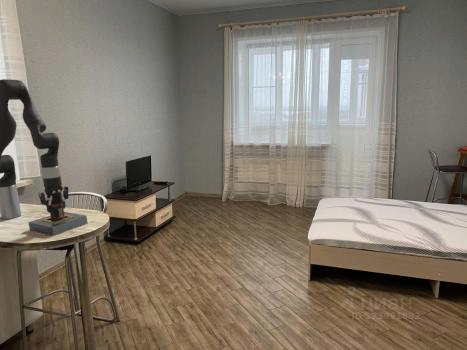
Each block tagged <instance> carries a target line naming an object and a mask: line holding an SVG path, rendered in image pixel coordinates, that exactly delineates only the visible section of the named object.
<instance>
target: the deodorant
mask: <svg viewBox="0 0 467 350" xmlns="http://www.w3.org/2000/svg"><path fill="white" fill-rule="evenodd" d="M61 193H62V192H56V193H53V194H50V196H51V195H52V201H51V206H52V213H49V214H50V215H51V221H55V222H56V221H59V220H62V219H65V215H64V212H65V210H64V208H63V201H62V194H63V193H62V194H61ZM50 196H48V198H50ZM50 215H49V216H50Z"/></svg>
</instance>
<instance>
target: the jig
mask: <svg viewBox="0 0 467 350" xmlns="http://www.w3.org/2000/svg"><path fill="white" fill-rule="evenodd" d="M64 215H65V219H62V220H59V221H56V222H55V221H51V215H49V216H43V217H41V218H38V219H35V220H32V221H31V220H30V221H29V222H27V223H28V228H29V231H31V232H36V233H38V234H44V235H48V236H53V237H55V236H57V235H60V234H63V233H65V231H66V232H68V231H70V230H73V228H74V229H76V228H79V227H82V226H84V225H88V217H87V215H86V214H85V215H84V214H80V213H73V212H69V211H64Z"/></svg>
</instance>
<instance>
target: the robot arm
mask: <svg viewBox="0 0 467 350" xmlns="http://www.w3.org/2000/svg"><path fill="white" fill-rule="evenodd" d="M10 100H11V101H13V100H17V101H18V100H19V101H20V102H21V103H22V105H23V109H22V119H23V122H24V124H25V125H26V127H27V128H28V130H29V132H30V135H31V139H32V144H33V146H34V147H35V148H36V149H38V150H46V149H47V152H45V153H43V154H42V155H40V157H39V159H40V165H41V166H40V167H41V175H42V176H41V177H42V182H43V186H44V190H43V191H41V192H37V194H38V198H39V201H40V204H41V205H44V206H46V212H48V213H49V214H50V213H52V206H51V201H52V195H51V196H50V194H53V193H56V192H61V194H62V201H63V208H64V209H66V200H68V199H69V187H68V186H64V185H63V186H62V182H63V181H62V177H61V170H60V169H61V168H60V165H59V159H58V156H59V155H58V154H59V147H60V138H59V136H58V135H57V134H56V133H55V132H45V131H46V130H47V124H45V122H44V120H43V119H42V117H41V116H40V114H39V112H38V110H37V109H36V106H35V104H34V102H33V99H32V96H31V94H30V92H29V90H28V87H27V86H26V84H25V83H24V82H23V81H22V80H19V79H9V78H7V79H6V78H4V79H0V174H1V175H2V174H3V175H2V176H1V177H0V217H1V219H2V220H10V219H15V218H18V217H21V216H22V210H21V204H20V199H19V193H18V192H19V191H18V186H17V175H16V164H15V160H14V158H13V157H12V155H10V154H3V153H4V151H5V149H6V148H7V147H8V146H9V145H11V143H12V141H13V140H14V139H15V137H16V132H17V122H16V120H15V118H14V116H13V115H12V113H11V112H10V109H9V101H10ZM44 132H45V133H44ZM48 196H50V198H48Z"/></svg>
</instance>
